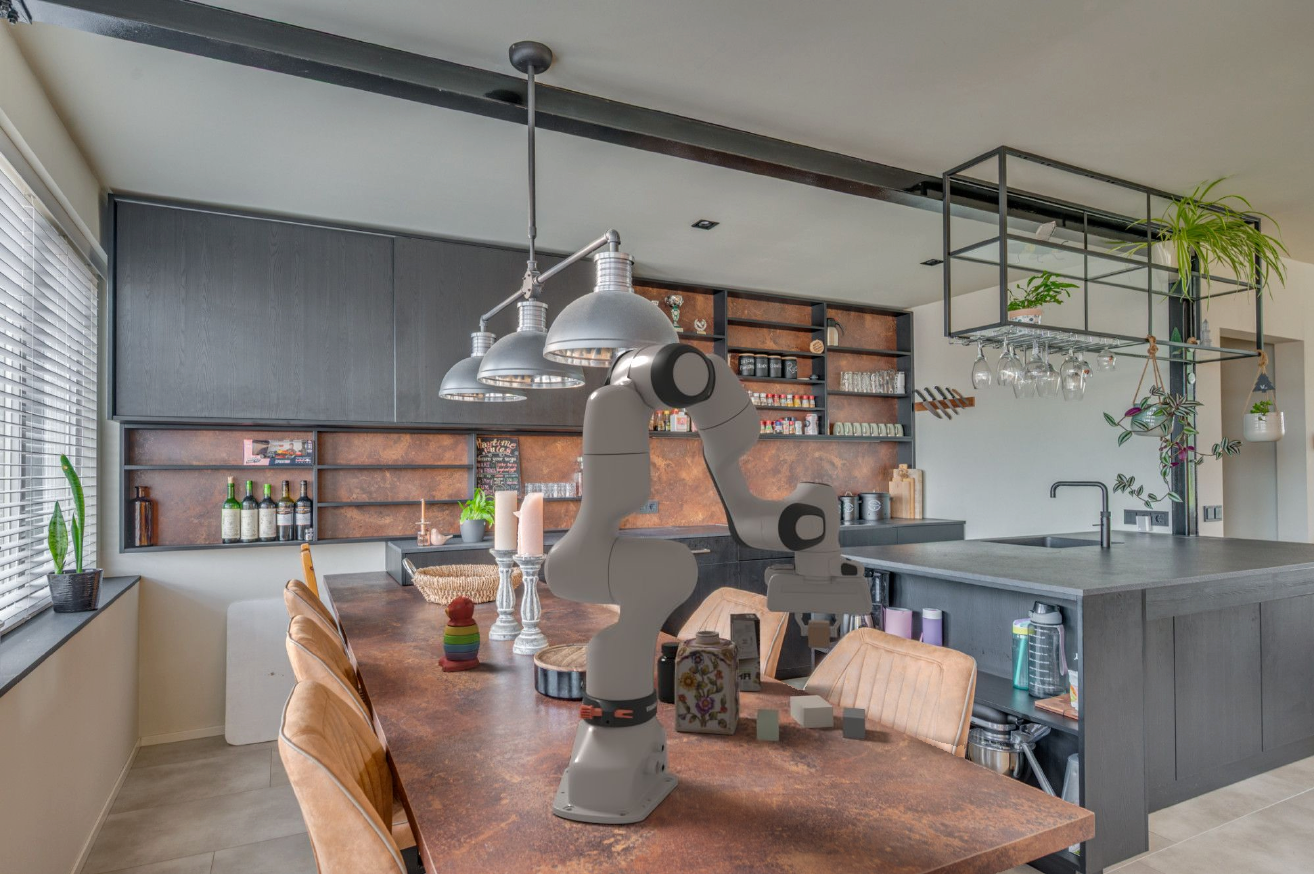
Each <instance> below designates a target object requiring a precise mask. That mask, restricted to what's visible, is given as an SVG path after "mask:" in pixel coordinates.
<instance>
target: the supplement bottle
mask: <svg viewBox="0 0 1314 874" xmlns="http://www.w3.org/2000/svg"><path fill="white" fill-rule="evenodd" d="M680 643H681V642H679V641H678V642H677V641H667V642H666V641H665V642H663V643H661V645H660V646H661V650H660V653H661V655H660V656H658V658H657V660H656V661H657V662H656V668H657V670H656V672H657V673H656V674H657V677H656V678H657V698H658V701H660V702H663V703H666V704H667V703H668V704H675V659H676V653H677V651H678V647H679V644H680Z"/></svg>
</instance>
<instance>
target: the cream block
mask: <svg viewBox="0 0 1314 874" xmlns="http://www.w3.org/2000/svg"><path fill="white" fill-rule="evenodd" d="M789 700H790V703H789V704H790V705H789V707H790V716H791V717H792V718H793V719H794V721H796V722H797V723H798V724H799V725H800V726H801V727H802V729H803V728H804V729H811V728H812V729H813V728H814V729H815V728H828V727H829V728H830V727H831V728H832V727H834V706H833V705H831V703H829V702H828V701H826V700H825V699H824V698H822V697H821V696H820V695H818V694H815V695H813V694H812V695H798V696H797V695H796V696H793V695H792V696H789Z"/></svg>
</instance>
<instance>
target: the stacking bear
mask: <svg viewBox="0 0 1314 874" xmlns="http://www.w3.org/2000/svg"><path fill="white" fill-rule="evenodd" d="M444 612H445V614H446V616H447V618H448V619H449V620H448V621H447V622H446V626H445V630H444V634H443V638H442V639H443V640H442V642H443V644H442V646H443V650H444V655H445V656H441V658H439V659H438V661H437V662H438V664H437V665H438V666H440V665H441V666H440V667H441V670H442V671H443V672H444V671H446V672H445V673H451V672H450V671H455V672H460V671H461V670H462V671H466V670H465V669H467V670H470V668H471V669H474V668H476V667H478V666H480V660H479V657H478V654H479V649H480V647H481V635H480V634H481V633H480V631H479V630H480V629H479V625H478V623H477V621H476V620H475V619H474V618H473V616H474V612H475V603H474V601H473V600H472V599H470V598H469V597H466V596H465V597H463V596H461V595H458V597H455V598H454V599H452V600H451V602H450V603H449V605H448V606H447V607H446V608H445V611H444ZM473 667H474V668H473Z"/></svg>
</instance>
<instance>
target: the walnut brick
mask: <svg viewBox="0 0 1314 874" xmlns="http://www.w3.org/2000/svg"><path fill="white" fill-rule="evenodd" d="M807 625H808V636H807V639H808V642H807V643H808V648H813V649H815V648H816V649H830V648H831V642H830V641H831V639H830V638H831V637H830V620H817V619H809V620H808V623H807Z"/></svg>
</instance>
